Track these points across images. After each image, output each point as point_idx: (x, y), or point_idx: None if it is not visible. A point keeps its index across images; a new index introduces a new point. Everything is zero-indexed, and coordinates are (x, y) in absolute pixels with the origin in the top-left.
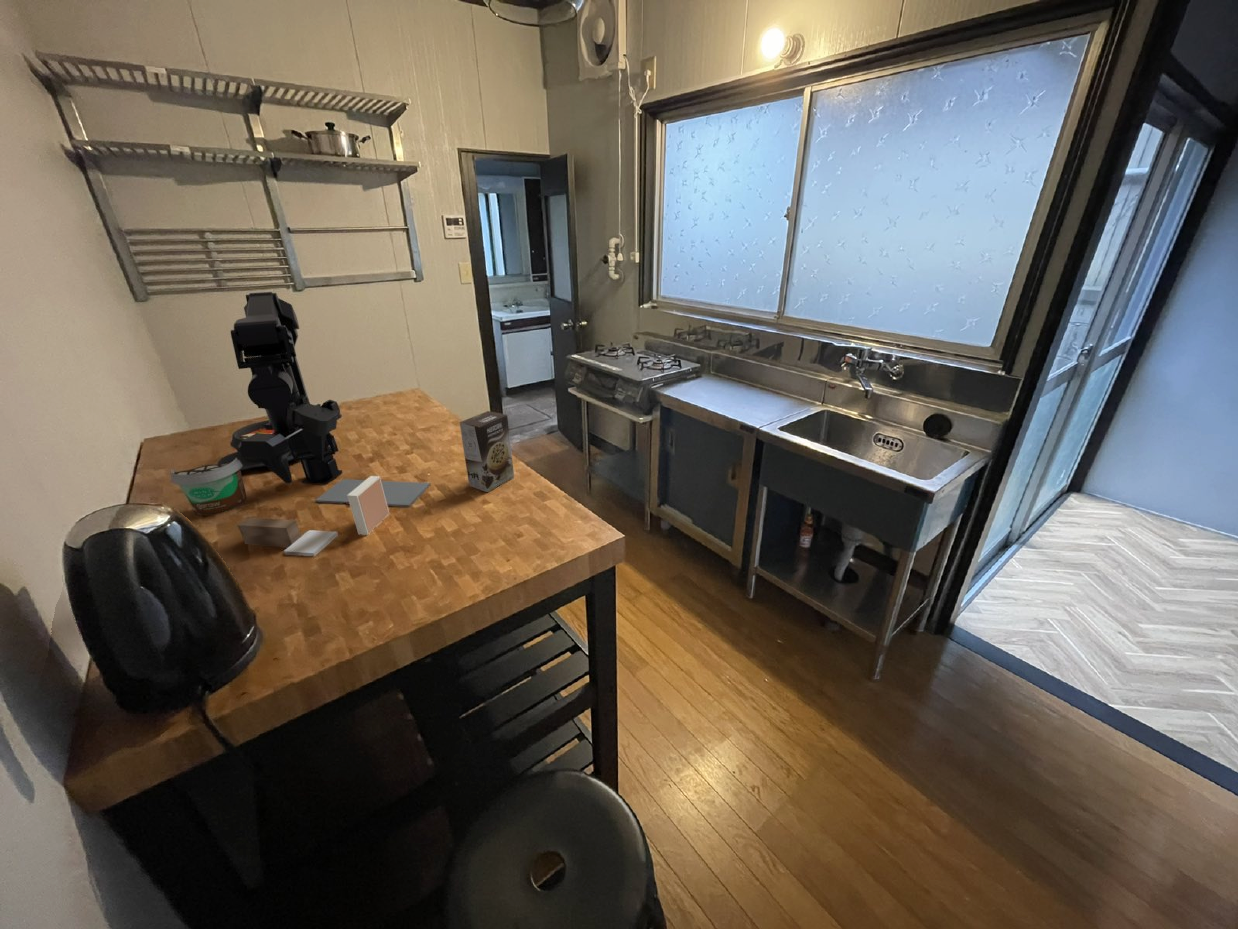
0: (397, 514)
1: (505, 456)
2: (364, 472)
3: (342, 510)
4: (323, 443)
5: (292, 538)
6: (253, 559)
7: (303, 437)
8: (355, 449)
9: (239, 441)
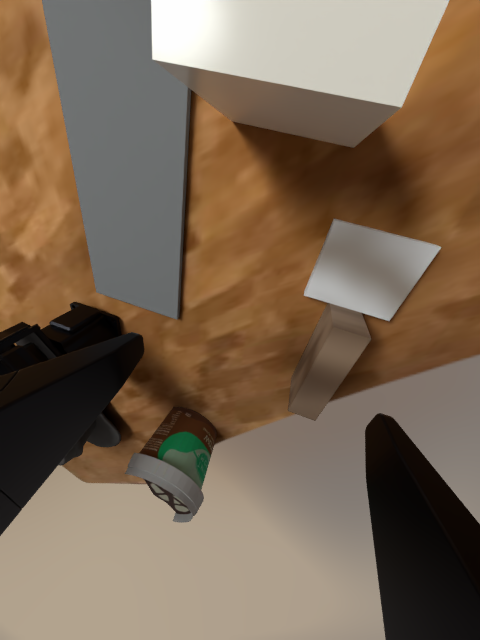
0: None
1: None
2: (59, 258)
3: (211, 251)
4: (15, 381)
5: (356, 316)
6: (380, 364)
7: (22, 507)
8: (2, 303)
9: (69, 457)
